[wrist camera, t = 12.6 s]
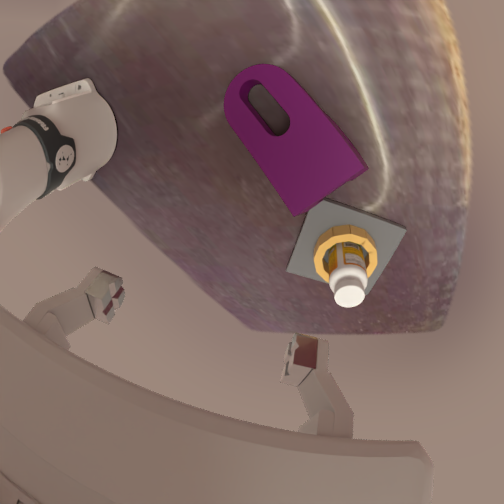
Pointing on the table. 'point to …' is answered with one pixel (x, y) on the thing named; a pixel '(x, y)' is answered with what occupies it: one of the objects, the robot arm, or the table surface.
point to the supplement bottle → (347, 273)
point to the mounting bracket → (292, 139)
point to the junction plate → (343, 217)
